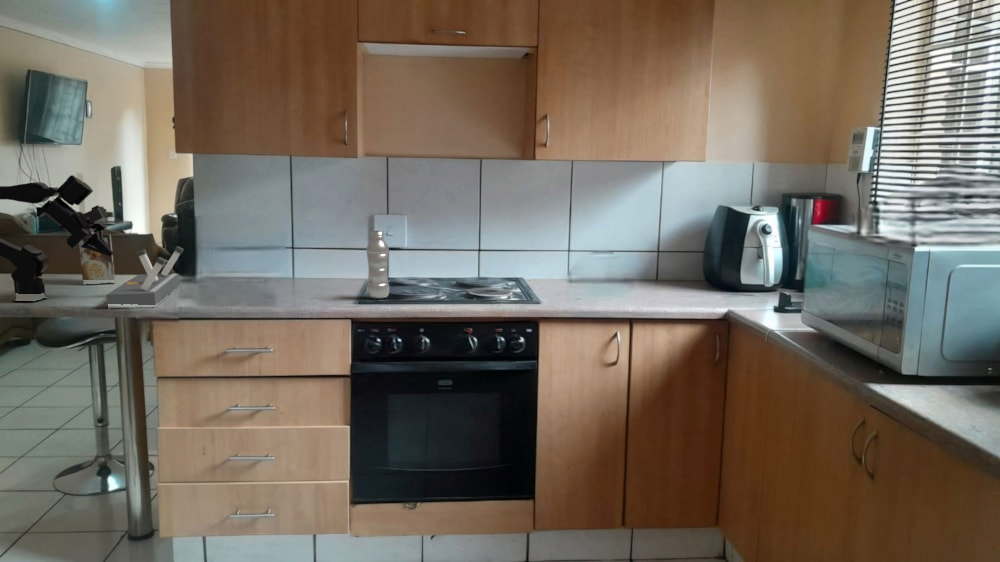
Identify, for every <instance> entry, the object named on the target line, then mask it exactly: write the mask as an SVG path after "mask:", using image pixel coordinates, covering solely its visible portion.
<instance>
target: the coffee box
mask: <svg viewBox="0 0 1000 562" xmlns="http://www.w3.org/2000/svg"><path fill="white" fill-rule="evenodd" d="M103 239H104V240H105V242H106V243H107V245H108V246H109V247H110V249H111V250H112V251H113V245H112V244H113V241H112V234H111V233H110V232H109V233H104V232H103ZM82 241H83V240H81V241H80V242H79V243H78V245H79V246H78V249H79V256H80V266H81V277H82V281H83V280H114V279H115V280H116V275H115V265H114V255H112V256H107V255H104V254H101V253H98V252H95V251H92V250H89V249H86V248H82V247H81V246H82V245H83V244H84V243H83V242H82Z"/></svg>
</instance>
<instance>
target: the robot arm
mask: <svg viewBox="0 0 1000 562" xmlns="http://www.w3.org/2000/svg"><path fill="white" fill-rule="evenodd" d="M93 192H94V190H93V189H92V187H91V186H90V185H89V184H88V183H86V182H84V181H82V179H79V178H78V177H76V176H75V175H74V174H73V175H69V176H68V177H67V179H66V180H65V181H64V182H63V183H62V184H61V185H60V186H59V187H57V186H56V187H52V186H48V185H47V184H46V183H44V182H42V181H41V182H40V181H36V182H35V181H34V182H27V183H21V184H15V185H5V186H4V185H0V200H9V201H10V200H11V201H16V202H20V203H21V202H22V203H27V204H40V203H44V202H45V203H44V204H43V205H42V206H37V207H35V211H36V215H35V216H36V217H37V218H41V217H44V216H45V215H47V216H48V217H49V218H50V219H51V220H52V221H54V222H55V223H57V224H58V225H59V229H60V230H61V231H62V230H65V231H66V232H67V233H68V234H70V235H69V237H67V238H66V243H67V245H68V246H69V248H72V249H75V248H77V247H78V245H79V242H80V241H81V240H83V241H82V242H83V243H84V244H83V245H82V246H81V247H82V248H86V249H89V250H92V251H95V252H98V253H101V254H104V255H107V256H112V255H113V254H114V252H113V249H112V250H111V249H110V247H109V246H108V245H107V243H106V242H105V240H104V239H103V233H104V231H105V230H106V229H108V226H107V225H106V224H105V223H104V222H96V221H99V220H101V219H104V218H108V217H109V215H108V213H107V209H106V208H104V206H100V205H95V206H92V207H91V209H90V211H89V210H88V211H87V212H84V213H83V212H82V211H76V210H75V209H74V208H72V207H71V206H74V205H77V206H79V205H80V204H82V202H84V200H86V199H87V198H88V197H89V196H90V195H91V194H92V193H93ZM52 197H56V198H54V199H53V200H50V198H52ZM95 222H96V223H95ZM113 256H114V255H113ZM0 257H2V258H4V259H6V260H7V261H8V262H9V263H11V265H13V267H15V268H16V269H15V270H14V271H13V272H12V273H11V274H10V277H11V278H12V280H13V286H14V294H15V293H18V294H41V293H44V292H45V293H46V289H45V286H46V285H45V283H43V282H44V281H43V279H44V278H42V276H43V273H44V272H45V271H46V270H47V269H48V268H49V265H50V260H49V257H48V255H46V254H45V253H44V250H40V249H38V248H36V247H34V246H33V245H31V244H26V245H23V246H17V245H15V244H13V243H11V242H10V241H7V240H5V239H3V238H0Z"/></svg>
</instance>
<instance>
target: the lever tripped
mask: <svg viewBox="0 0 1000 562" xmlns="http://www.w3.org/2000/svg"><path fill="white" fill-rule="evenodd" d="M135 253H136V257H138V258H139V260H140V262H141V264H142V267H143V268H144V270H145V273H146V275H149V273H150V272H151V270H152V268H153V267H154V266H153V265H152V262H151V261H150V259H149V256H148V253H147V250H146V248H145V249H141V250H139V251H137V252H135ZM157 280H158V277H157V276H156V277H155V279H154V281H153V282H155V281H157Z"/></svg>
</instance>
